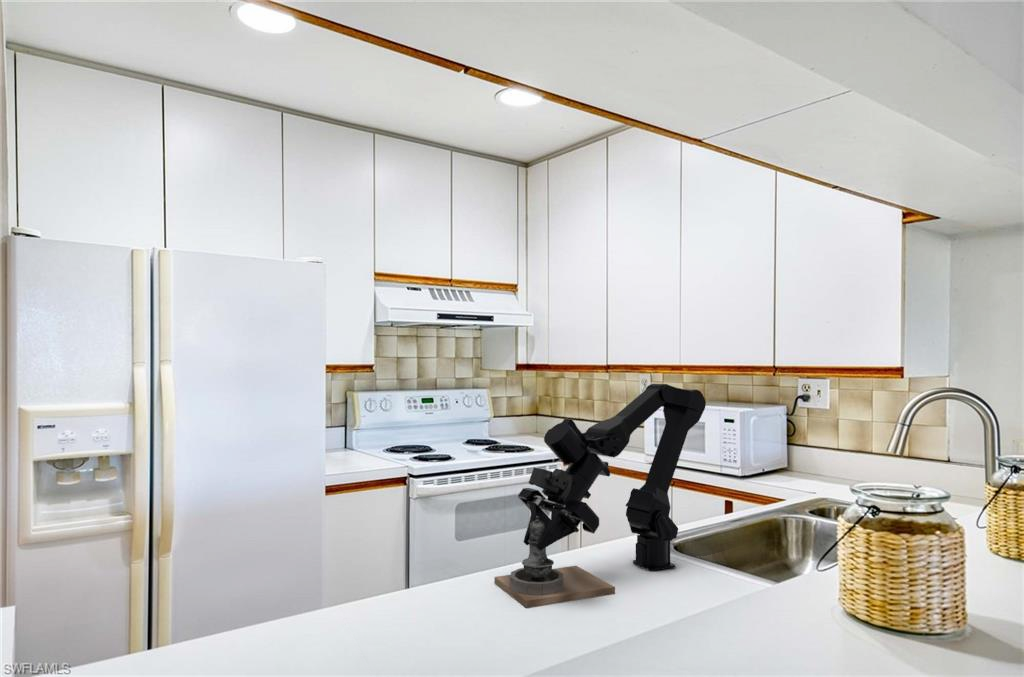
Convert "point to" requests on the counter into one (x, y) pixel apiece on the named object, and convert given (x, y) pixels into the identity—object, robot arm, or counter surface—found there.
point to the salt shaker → (537, 556)
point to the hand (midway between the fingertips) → (531, 546)
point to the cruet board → (554, 586)
